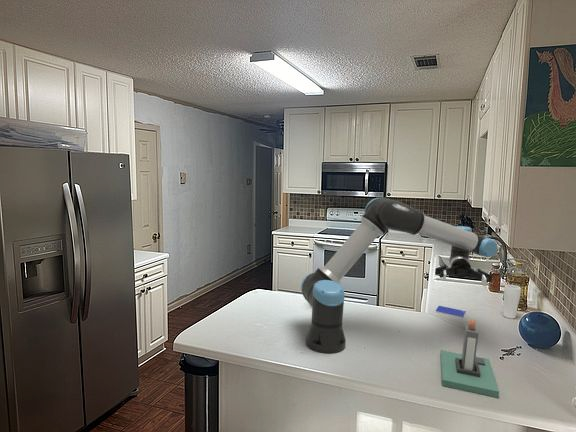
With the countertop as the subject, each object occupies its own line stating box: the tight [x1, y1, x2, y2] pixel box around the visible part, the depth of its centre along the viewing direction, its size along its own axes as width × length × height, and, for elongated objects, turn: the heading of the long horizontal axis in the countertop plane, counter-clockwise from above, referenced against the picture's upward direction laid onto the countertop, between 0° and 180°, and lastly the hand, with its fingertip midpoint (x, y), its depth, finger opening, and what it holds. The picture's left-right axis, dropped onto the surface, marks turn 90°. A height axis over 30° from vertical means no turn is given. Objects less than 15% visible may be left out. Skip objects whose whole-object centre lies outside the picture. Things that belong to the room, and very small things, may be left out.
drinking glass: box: [502, 283, 522, 320], centre depth 186 cm, size 7×7×15 cm
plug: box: [461, 318, 479, 371], centre depth 131 cm, size 5×4×19 cm, turn 160°
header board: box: [440, 349, 500, 398], centre depth 132 cm, size 22×16×3 cm
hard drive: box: [435, 305, 467, 319], centre depth 190 cm, size 2×8×12 cm
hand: (464, 280), depth 145 cm, fingers open, 13 cm apart
